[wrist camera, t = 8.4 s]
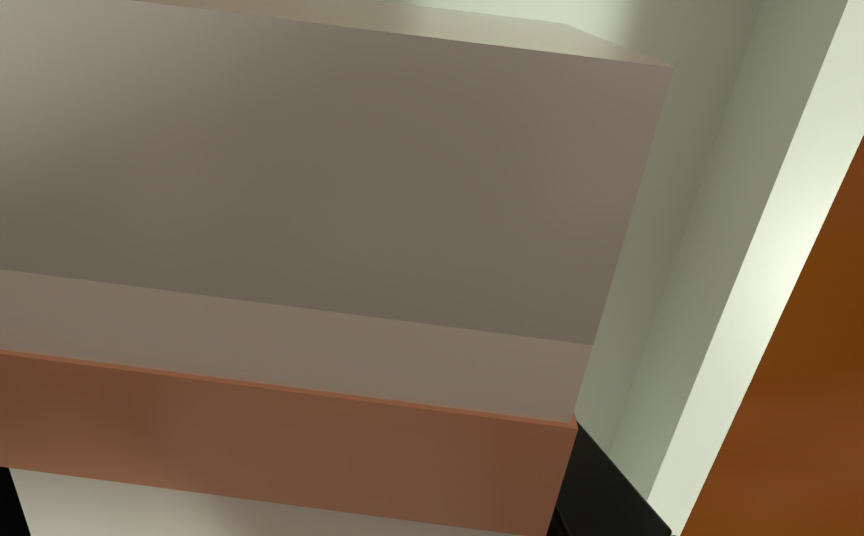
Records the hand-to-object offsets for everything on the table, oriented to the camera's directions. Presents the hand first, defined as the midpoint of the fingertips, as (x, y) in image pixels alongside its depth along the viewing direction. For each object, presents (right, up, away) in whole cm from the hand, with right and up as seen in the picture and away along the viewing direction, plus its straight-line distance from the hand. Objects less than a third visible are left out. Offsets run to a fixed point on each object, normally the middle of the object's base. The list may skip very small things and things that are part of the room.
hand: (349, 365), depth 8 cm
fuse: (0, 0, 0) cm, 0 cm away
